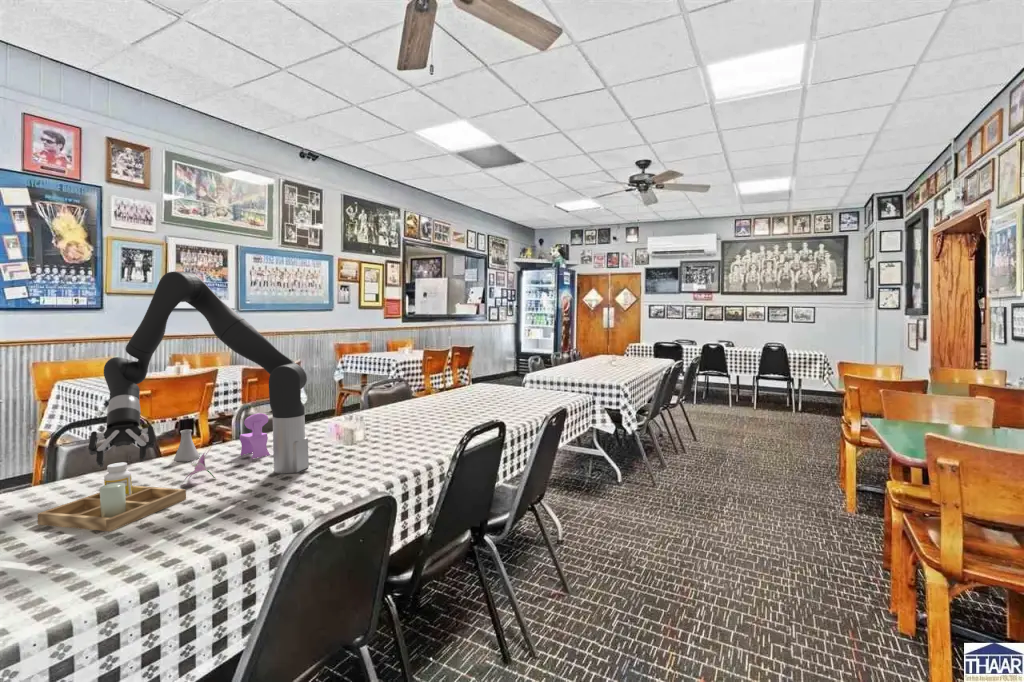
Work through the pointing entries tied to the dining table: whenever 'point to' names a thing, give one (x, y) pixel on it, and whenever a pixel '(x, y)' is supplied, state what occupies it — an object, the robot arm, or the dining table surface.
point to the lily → (200, 466)
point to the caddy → (89, 516)
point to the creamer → (112, 499)
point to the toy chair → (255, 436)
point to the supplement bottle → (119, 476)
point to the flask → (186, 448)
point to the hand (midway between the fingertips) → (121, 462)
